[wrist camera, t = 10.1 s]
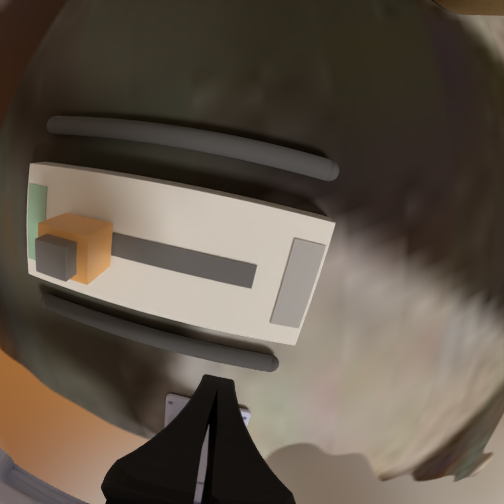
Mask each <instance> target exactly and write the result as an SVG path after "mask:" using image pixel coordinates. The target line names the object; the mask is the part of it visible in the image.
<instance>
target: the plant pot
mask: <svg viewBox="0 0 504 504" xmlns="http://www.w3.org/2000/svg"><path fill="white" fill-rule="evenodd" d="M433 1H434V2H436V3H437V4H438V5H440V6H442V7H443V8H445V9H447V10H449V11H451V12H454V13H457V14H463V15H499V16H504V0H433Z"/></svg>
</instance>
